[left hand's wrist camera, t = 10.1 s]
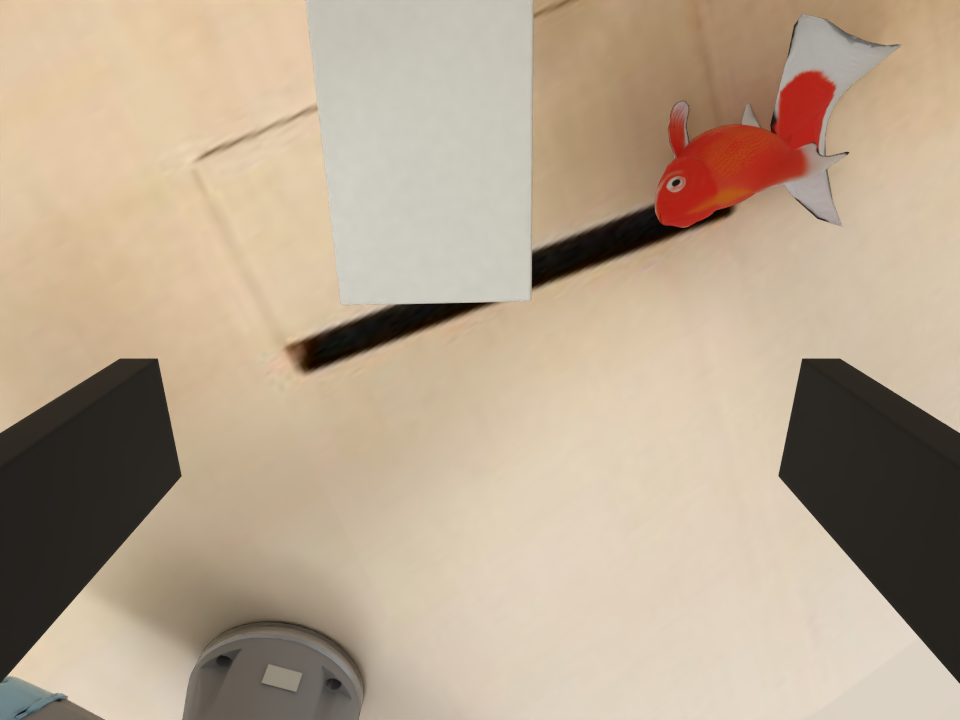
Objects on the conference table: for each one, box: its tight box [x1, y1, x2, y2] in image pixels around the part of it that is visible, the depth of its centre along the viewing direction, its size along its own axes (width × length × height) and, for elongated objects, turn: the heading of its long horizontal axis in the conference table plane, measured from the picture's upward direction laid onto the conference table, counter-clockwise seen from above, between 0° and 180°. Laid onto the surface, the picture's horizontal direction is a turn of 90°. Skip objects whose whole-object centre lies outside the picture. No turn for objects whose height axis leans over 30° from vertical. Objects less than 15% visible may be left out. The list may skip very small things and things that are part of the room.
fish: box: [655, 14, 901, 227], centre depth 33 cm, size 11×16×10 cm
